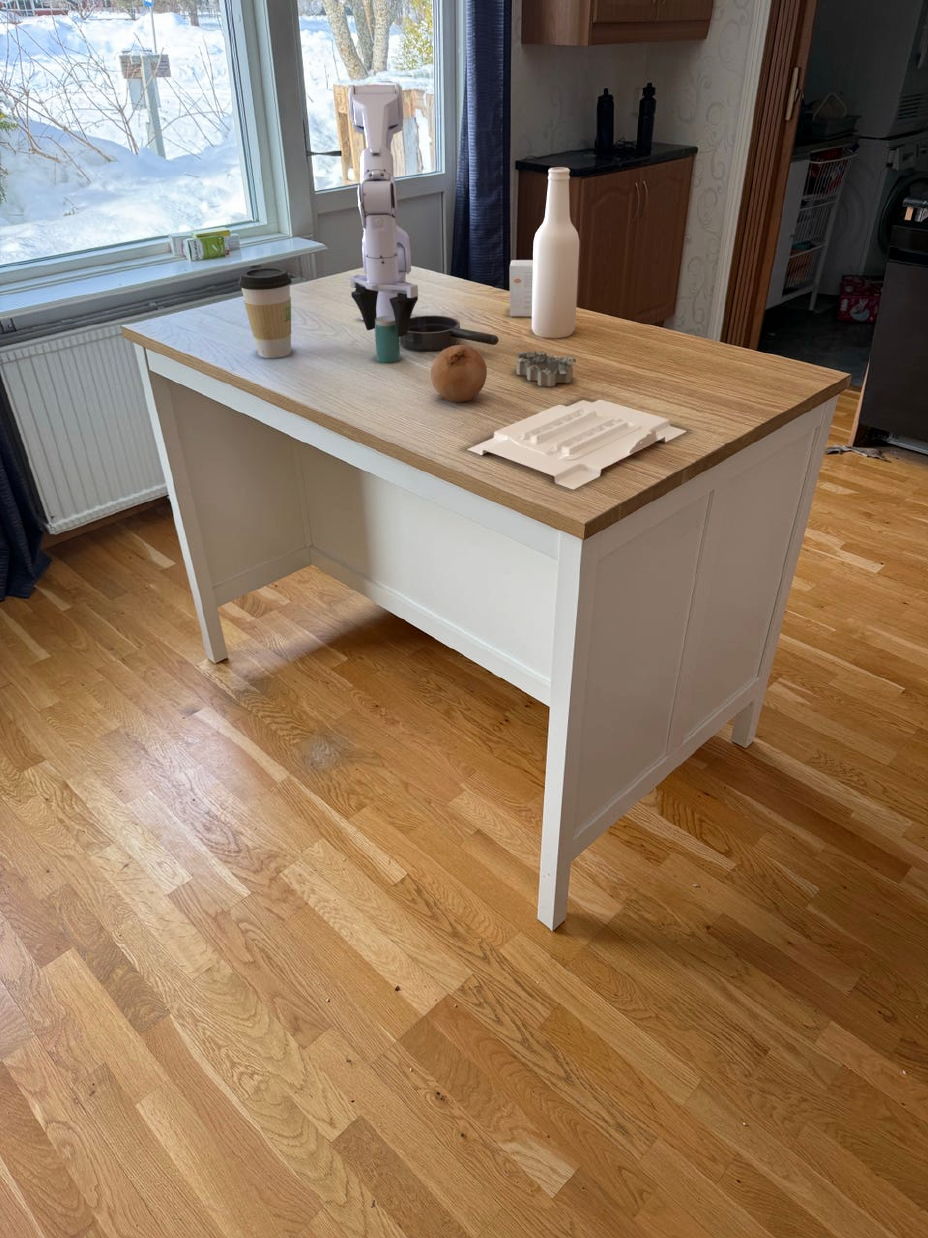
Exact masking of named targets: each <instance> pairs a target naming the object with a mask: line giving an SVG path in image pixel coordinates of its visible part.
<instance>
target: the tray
mask: <svg viewBox="0 0 928 1238" xmlns="http://www.w3.org/2000/svg"><path fill="white" fill-rule="evenodd" d="M684 433H687V430H685V429H681V428H678V427H674V426H671V425H670V419H668V418H665V417H661V416H658V415H655V414H651V413H648V412H644V411H641V410H638V409H634V408H631V407H627V406H624V405H621V404H617V403H614V402H611V401H608V400H604V399H598V400H594V401H593V402H592V401H588V400H584V399H582V400H579V401H577V402H575V403H573V404H570V405H568V406H566V405H563V404H558V405H555V406H552V407H549V408H548V409H545V410H543V411H540V412H538V413H536V414H533V415H530V416H528V417H526V418H524V419H521V420H518V421H517V422H514V423H512V424H509V425H507V426H505V427H502V428H500V429H497V430H494V432H493V437H492V438H490V439H487V440H485V441H483V442H481V443H478V444H476V445H474V446H471V447H469V448H467V449H466V450H467V451H470V452H472V453H475V454H477V455H480V456H483V455H485V454H488V453H491V454H493V455H496V456H499V457H503V458H505V459H506V460H509V461H512V462H515V463H518V464H520V465H523V466H526V467H529V468H531V469H534V470H536V471H539V472H542V473H544V474H547V475H550V476H552V477H553V479H554V483H555V484H557V485H559V486H562V487H565V488H567V489H570V490H576V489H578V488H579V487H581V486H583V485H586V484H587V483H589V482H591V481H593V480H595V479H598V478H599V477H600V476H601V473H602V470H603V469H604V468H607V467H608V466H611V465H613V464H615V463H616V462H619V461H620V460H623V459H624V458H626V457H628V456H631V455H632V454H634V453H636V452H638V451H640V450H643V449H644V448H646V447H648V446H650V445H652V444H654V443H655V442H658V441H660V442H664V443H667V442H670V441H672V440H673V439H675V438H677V437H679V436H681V435H683V434H684Z"/></svg>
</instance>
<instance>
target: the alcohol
mask: <svg viewBox="0 0 928 1238" xmlns="http://www.w3.org/2000/svg"><path fill="white" fill-rule="evenodd" d="M547 172H548V176H547V180H548V183H547V194H546V204H545V214H544V218H543V222H542V223H541V225H540V226H539V228H538V229H537V231H536V232H535V234H534V239H533V247H532V248H533V249H532V250H533V251H532V260H533V291H532V317H531V330H532V332H533V334H534V335H535V336H537V337H541V338H544V339H545V338H546V339H562V338H567V337H569V336H571V335H573V333H574V331H575V330H576V317H577V302H578V301H577V299H578V298H577V297H578V281H579V279H578V277H579V259H580V258H579V257H580V238H579V233H578V231H577V228H576V227H575V226H574V224H573V223H572V220H571V213H570V178H571V176H570V172H571V170H570V169H569V168H568V167H564V166H563V167H561V166H559V167H549V169H548V171H547Z"/></svg>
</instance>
